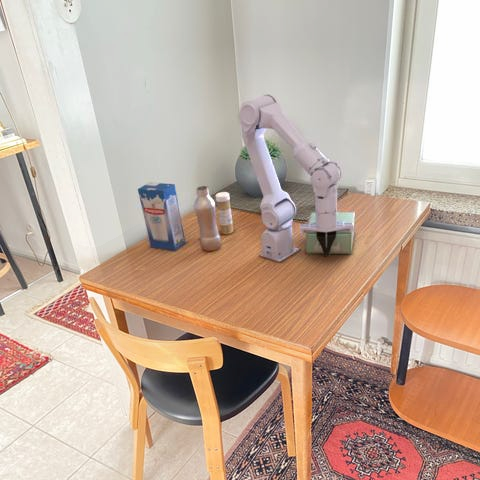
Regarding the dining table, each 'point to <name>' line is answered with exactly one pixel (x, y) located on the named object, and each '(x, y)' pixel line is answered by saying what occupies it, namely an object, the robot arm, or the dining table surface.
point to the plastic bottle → (206, 219)
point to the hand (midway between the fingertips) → (326, 255)
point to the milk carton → (162, 215)
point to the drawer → (338, 245)
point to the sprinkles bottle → (224, 212)
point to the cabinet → (341, 217)
